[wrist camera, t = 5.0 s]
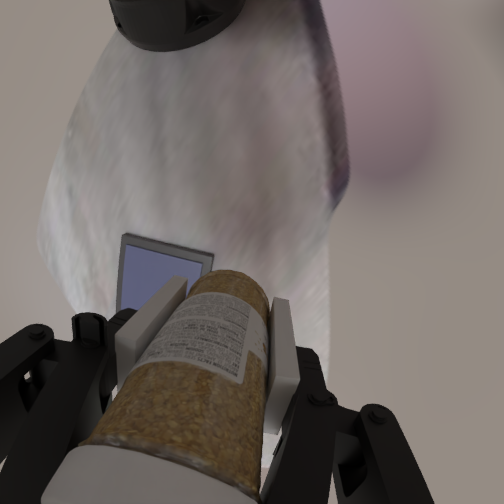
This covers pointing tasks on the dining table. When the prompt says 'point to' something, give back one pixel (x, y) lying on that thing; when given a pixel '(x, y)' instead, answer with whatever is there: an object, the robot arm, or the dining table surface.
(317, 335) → the dining table surface
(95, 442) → the sprinkles bottle
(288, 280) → the dining table surface
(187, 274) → the ink pad
